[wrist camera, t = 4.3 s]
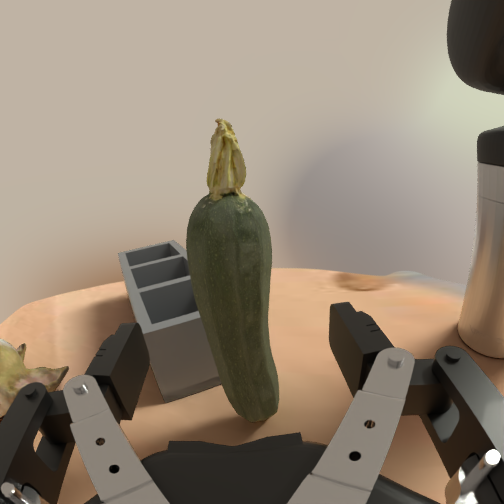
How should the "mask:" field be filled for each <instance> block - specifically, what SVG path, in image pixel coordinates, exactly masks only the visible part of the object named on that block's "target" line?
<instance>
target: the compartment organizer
mask: <svg viewBox="0 0 504 504" xmlns="http://www.w3.org/2000/svg"><path fill="white" fill-rule="evenodd" d="M118 256H119V260H120V264H121V269H122V273H123V277H124V281H125V285H126V289H127V293H128V297H129V301H130V304H131V307H132V311H133V314H134V317H135V321H136V323H139V324H140V326H141V329H142V332H143V336H144V339H145V342H146V345H147V348H148V351H149V356H150V365H151V368H152V371H153V373H154V376H155V379H156V381H157V384H158V386H159V389H160V391H161V394H162V396H163V399H164V401H165V403H167V402H171V401H174V400H177V399H180V398H183V397H186V396H189V395H192V394H195V393H198V392H201V391H204V390H206V389H209V388H212V387H215V386H218V385H220V384H222V383H221V380H220V378H219V375H218V371H217V367H216V364H215V361H214V358H213V355H212V352H211V348H210V345H209V342H208V339H207V336H206V332H205V329H204V326H203V323H202V320H201V317H200V314H199V311H198V308H197V305H196V301H195V298H194V294H193V289H192V284H191V279H190V272H189V266H188V260H187V251H186V250H185V249H184V248H183V247H182V246H180V245H179V244H178V243H177V242H175V241H174V240H172V241H168V242H163V243H159V244H155V245H151V246H146V247H142V248H138V249H134V250H129V251H125V252H121V253H118Z"/></svg>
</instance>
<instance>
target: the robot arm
mask: <svg viewBox="0 0 504 504" xmlns="http://www.w3.org/2000/svg"><path fill="white" fill-rule="evenodd" d="M447 46H448V54H449V58H450V61H451V64H452V67H453V69H454V71H455V72H456V74H457V75H458V77H459V78H460V79H461V80H462V81H463V82H464V83H466V84H467V85H469V86H471V87H473V88H476V89H479V90H482V91H486V92H492V93H496V94H502V95H504V0H452V1H451V6H450V10H449V17H448V25H447ZM477 161H478V186H477V187H478V188H477V211H476V224H475V234H474V243H473V251H472V258H471V265H470V271H469V277H468V282H467V287H466V292H465V297H464V302H463V306H462V311H461V315H460V319H459V323H458V333H459V335H460V337H461V339H462V340H463V341H464V342H465V343H466V344H467V345H468V346H469V347H470V348H472V349H473V350H475V351H477V352H479V353H481V354H484V355H486V356H490V357H494V358H504V126H502V127H498V128H495V129H491V130H487V131H484V132H483V133H481V134H480V135H479V136H478V140H477ZM329 342H330V347H331V350H332V352H333V354H334V356H335V359H336V361H337V363H338V365H339V367H340V369H341V372H342V374H343V376H344V378H345V380H346V382H347V385H348V387H349V389H350V391H351V393H352V396H353V398H354V399H353V401H352V403H351V405H350V407H349V409H348V411H347V413H346V415H345V416H344V418H343V420H342V422H341V424H340V426H339V428H338V429H337V431H336V433H335V435H334V437H333V438H332V440H331V442H330V443H329V445H325V444H321V443H317V442H310V441H302V437H301V433H300V432H299V433H293V434H286V435H278V436H270V437H265V438H262V439H259V440H255V441H252V442H249V443H245V444H242V445H238V446H226V445H219V444H213V443H207V442H202V441H169V444H168V450H165V451H161V452H157V453H155V454H152V455H150V456H148V457H146V458H144V459H142V460H140V458H139V457H138V455H137V454H136V452H135V450H134V449H133V447H132V446H131V444H130V442H129V441H128V439H127V437H126V436H125V434H124V432H123V430H122V429H121V427H120V425H119V424H120V421H121V420H132V417H133V414H134V411H135V408H136V405H137V402H138V398H139V395H140V392H141V389H142V386H143V383H144V380H145V377H146V374H147V371H148V368H149V365H150V356H149V351H148V348H147V345H146V342H145V339H144V336H143V332H142V329H141V326H140V324H139V323H122V324H121V325H120V326H119V328H118V330H117V331H116V333H115V335H111V336H110V337H108V338H107V339H106V340H105V341H104V342H103V343H102V345H101V347H100V348H99V350H98V352H97V353H96V357H94V359H93V360H92V362H91V364H90V366H89V367H88V369H87V371H86V373H85V374H84V375H80V376H76V377H74V378H72V379H70V380H69V381H68V382H67V383H66V384H65V386H64V389H63V390H61V391H54V392H48V391H47V389H46V387H45V385H44V384H42V383H40V382H33V383H30V384H27V385H26V386H24V387H23V388H22V389H21V390H20V391H19V393H18V394H17V396H16V397H15V399H14V401H13V402H12V404H11V406H10V407H9V409H8V411H7V413H6V414H5V416H4V418H3V419H2V421H1V423H0V504H57V501H58V497H59V494H60V490H61V487H62V483H63V480H64V477H65V473H66V470H67V467H68V464H69V461H70V458H71V455H72V452H73V449H74V446H75V443H76V444H77V447H78V450H79V452H80V455H81V457H82V460H83V462H84V465H85V467H86V469H87V472H88V474H89V476H90V478H91V481H92V483H93V485H94V487H95V489H96V491H97V493H98V494H97V495H95V496H94V497H93V498H91V499H90V500H89V501H87V502H86V503H84V504H440V503H438V502H436V501H434V500H432V499H429V498H427V497H425V496H423V495H421V494H419V493H416V492H414V491H412V490H410V489H408V488H406V487H404V486H402V485H400V484H398V483H396V482H394V481H392V480H390V479H388V478H386V477H384V476H383V475H381V474H379V473H380V470H381V468H382V466H383V463H384V461H385V458H386V456H387V453H388V451H389V448H390V445H391V442H392V440H393V437H394V434H395V431H396V428H397V425H398V422H399V419H400V416H404V415H419V416H420V418H421V420H422V422H423V424H424V425H425V427H426V429H427V431H428V433H429V435H430V437H431V439H432V441H433V443H434V445H435V447H436V449H437V451H438V453H439V456H440V458H441V460H442V462H443V464H444V466H445V468H446V470H447V472H448V475H449V477H450V480H449V482H448V483H447V485H446V488H445V497H446V504H504V397H503V396H502V394H501V393H500V392H499V391H498V389H497V388H496V387H495V386H494V384H493V383H492V382H491V381H490V379H489V378H488V377H487V376H486V375H485V373H484V372H483V371H482V370H481V369H480V367H479V366H478V365H477V364H476V363H475V361H474V360H473V359H472V358H471V357H470V356H469V354H468V353H467V352H466V351H464V350H463V349H461V348H459V347H455V346H445V347H442V348H440V349H439V350H438V351H437V352H436V355H435V358H434V359H414V357H413V355H412V354H411V353H410V352H408V351H407V350H404V349H401V348H395V347H394V346H393V345H392V343H391V342H390V341H389V339H388V338H387V337H386V335H385V334H384V333H383V332H382V330H380V328H379V326H378V325H376V322H375V321H374V320H373V318H372V317H371V316H369V315H368V314H366V313H364V312H362V311H359V312H356V311H355V309H354V308H353V307H352V305H351V304H350V303H349V302H343V303H336V304H331V306H330V322H329ZM38 430H39V431H40V432H41V434H42V435H43V436H42V438H41V441H40V443H39V445H38V448H37V450H36V453H35V451H34V447H33V442H34V439H35V436H36V434H37V432H38Z"/></svg>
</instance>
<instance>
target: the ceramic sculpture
mask: <svg viewBox="0 0 504 504" xmlns="http://www.w3.org/2000/svg"><path fill="white" fill-rule="evenodd" d="M25 351H26V344H25V343H24V344H22V345H20V346H19V348H18V349H17V350H16V349H15V348H14V347H13V346H12V345H11V344H10V343H8V342H6V341H5V340H3V339H0V418H1V417H2V416H4V415H5V414H6V413H7V411H8V409H9V407H10V406H11V404H12V402H13V401H14V399H15V397H16V396H17V394H18V393H19V391H20V390H21V389H22V388H23V387H24V386H26V385H27V384H30V383H33V382H40V383H42V384H44V385H45V387H46V389H47V391H48V392H53V391H54V390H55V389H56V388H57V387H58V386H59V384H60V383H61V381H62V380H63V378H64V377H65V375H66V373H67V372H68V370H69V367H68V366H66V367H62V368H58V369H51V368H46V367H39V368H35V369H27V368H25V366H24V363H23V361H24V357H25Z"/></svg>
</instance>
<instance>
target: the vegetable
mask: <svg viewBox="0 0 504 504" xmlns="http://www.w3.org/2000/svg"><path fill="white" fill-rule="evenodd" d="M216 122H217V123H218V127H217V128H216V130H215V134H214V135H213V136H212V138H211V157H210V162H209V169H208V173H207V185H208V187H209V190H210V191H209V192H210V193H209V194H208V195H207V196H205V197H203V198H202V199H201V200H200V201H199V202H198V204H197V205H196V207H195V208H194V210H193V212H192V214H191V216H190V219H189V224H188V228H187V240H186V241H187V242H186V248H187V260H188V266H189V272H190V279H191V284H192V289H193V294H194V298H195V301H196V305H197V308H198V311H199V314H200V317H201V320H202V323H203V326H204V329H205V332H206V336H207V339H208V342H209V345H210V348H211V352H212V355H213V358H214V361H215V364H216V367H217V371H218V375H219V378H220V380H221V383H222V386H223V388H224V391H225V393H226V396H227V398H228V400H229V402H230V403H231V405H232V406H233V408H234V409H235V411H236V412H237V413H238V414H239V415H240V416H242V417H244V418H245V419H246V420H248V421H250V422H256V421H263V420H266V419H268V418H269V417H271V416H272V415H274V414H275V413H276V412H277V409H278V403H279V383H278V375H277V371H276V367H275V363H274V360H273V357H272V353H271V348H270V340H269V329H268V308H269V293H270V277H271V267H272V248H271V237H270V232H269V227H268V223H267V221H266V219H265V216H264V214H263V212H262V211H261V209H260V208H259V206H258V205H257V204H255V203H254V202H253V201H252V200H251V199H250V198H249V197H247V196H246V195H244V194H243V193H242V192H241V191H240V188H241V187H242V186H243V184H244V182H245V177H246V167H245V164H244V159H243V157H242V154H241V151H240V149H239V146H238V142H237V139H236V137H235V133H234V131H233V129H232V128H231V127H232V125H231V124H230V123H229V122H227V121H225V120H222V119H217V120H216Z"/></svg>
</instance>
